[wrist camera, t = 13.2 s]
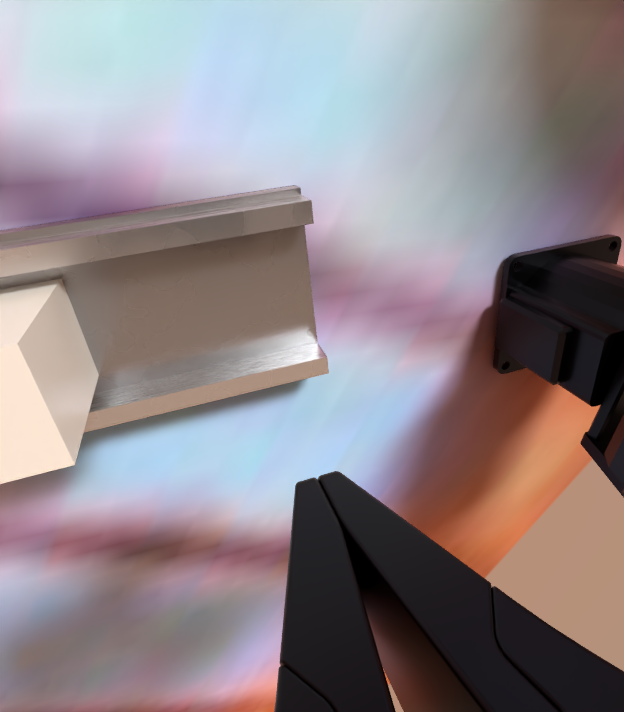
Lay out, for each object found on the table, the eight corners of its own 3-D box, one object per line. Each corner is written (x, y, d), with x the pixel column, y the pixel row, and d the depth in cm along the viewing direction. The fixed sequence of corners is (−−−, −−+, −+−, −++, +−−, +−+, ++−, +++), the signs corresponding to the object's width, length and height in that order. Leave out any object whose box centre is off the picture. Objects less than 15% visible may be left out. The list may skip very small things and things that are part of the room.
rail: (295, 185, 17) (362, 216, 11) (314, 355, 21) (373, 446, 15) (-346, 283, 13) (-753, 410, 8) (-184, 471, 17) (-371, 657, 11)
